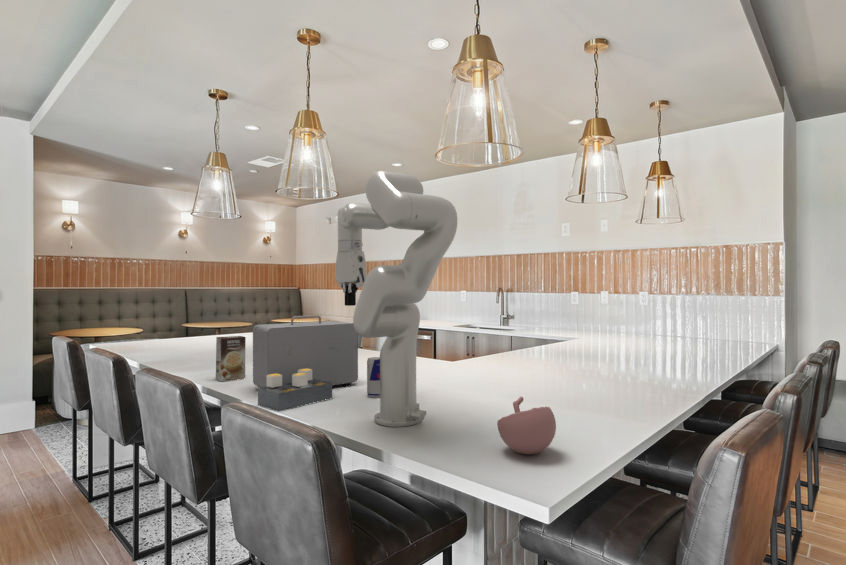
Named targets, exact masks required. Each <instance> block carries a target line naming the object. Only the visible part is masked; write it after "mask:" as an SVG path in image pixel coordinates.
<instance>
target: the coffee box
mask: <svg viewBox="0 0 846 565" xmlns="http://www.w3.org/2000/svg"><path fill="white" fill-rule="evenodd" d="M215 346H216V347H215V350H216V351H215V380H216V381H218V382H220V381H221V382H222V381H224V382H230V380H232V381H238V380H237V379H240V380H245V379H246V336H242V335H236V336H235V335H232V336H216V343H215ZM244 378H245V379H244ZM222 383H223V382H222Z"/></svg>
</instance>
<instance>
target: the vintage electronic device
mask: <svg viewBox="0 0 846 565" xmlns="http://www.w3.org/2000/svg"><path fill="white" fill-rule="evenodd" d="M309 318H310V319H312V318H318V321H306V322H305V321H304V322H294V320H295V319H309ZM358 339H359V335H358V334H357V333H356V331H355V329H354V325H353V323H352V322H347V321H340V320H323V321H322V317H321V316H320V315H317V314H314V315H294V316H292V317H291V318H290V322H286V323H270V324H269V323H267V324H255V325H253V327H252V383H253V385H255V386H256V387H258V388H261V387H267V375H270V374H276V373H277V374H281V375H282V384H283V383H288V382H292V375H293V374H297V373H298V370H300V369H306V368H307V369H311V370H312V379H317V380H322V381H327V382H332V386H337V385H343V386H344V385H345V386H344V387H350V386H351V383H356V382H357V381H358V378H359V340H358ZM349 385H350V386H349Z"/></svg>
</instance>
